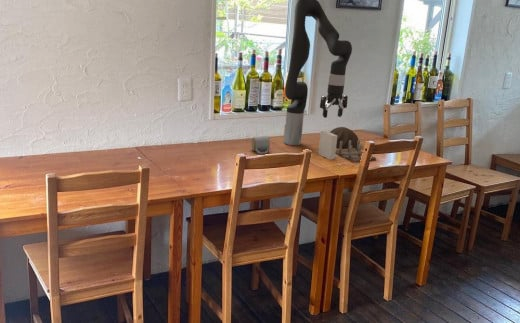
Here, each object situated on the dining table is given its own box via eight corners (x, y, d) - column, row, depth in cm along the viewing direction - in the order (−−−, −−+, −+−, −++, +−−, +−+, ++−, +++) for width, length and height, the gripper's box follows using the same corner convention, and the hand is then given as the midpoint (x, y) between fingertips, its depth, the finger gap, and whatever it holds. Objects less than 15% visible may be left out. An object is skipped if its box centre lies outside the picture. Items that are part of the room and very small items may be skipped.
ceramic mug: (250, 148, 247) (251, 134, 245) (266, 148, 249) (267, 134, 247) (255, 155, 237) (256, 140, 235) (271, 155, 239) (272, 140, 237)
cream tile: (318, 153, 246) (320, 130, 242) (323, 153, 247) (325, 130, 244) (329, 159, 238) (332, 135, 234) (334, 159, 239) (337, 135, 235)
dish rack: (331, 152, 250) (333, 139, 248) (353, 150, 256) (355, 137, 254) (353, 162, 235) (355, 148, 233) (376, 160, 241) (378, 146, 239)
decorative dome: (320, 139, 275) (322, 122, 272) (354, 141, 277) (357, 124, 274) (326, 148, 257) (328, 130, 254) (362, 150, 258) (365, 132, 255)
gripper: (343, 82, 236) (339, 114, 241) (319, 82, 229) (315, 115, 234) (353, 84, 229) (348, 118, 234) (328, 85, 223) (324, 119, 228)
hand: (332, 117), depth 234 cm, fingers open, 8 cm apart
